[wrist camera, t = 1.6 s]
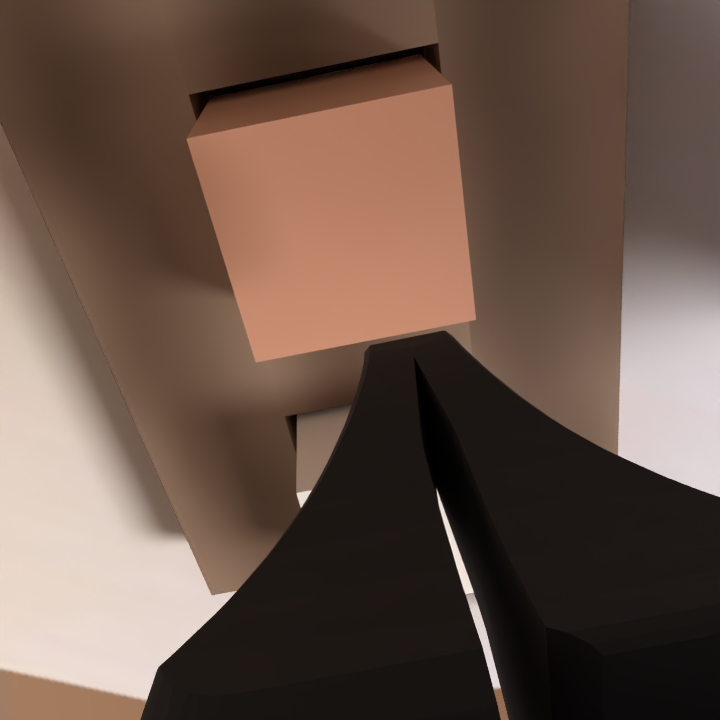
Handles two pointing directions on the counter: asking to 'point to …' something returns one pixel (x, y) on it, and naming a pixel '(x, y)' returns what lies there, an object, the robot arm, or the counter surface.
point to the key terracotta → (338, 205)
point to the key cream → (315, 450)
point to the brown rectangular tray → (203, 254)
